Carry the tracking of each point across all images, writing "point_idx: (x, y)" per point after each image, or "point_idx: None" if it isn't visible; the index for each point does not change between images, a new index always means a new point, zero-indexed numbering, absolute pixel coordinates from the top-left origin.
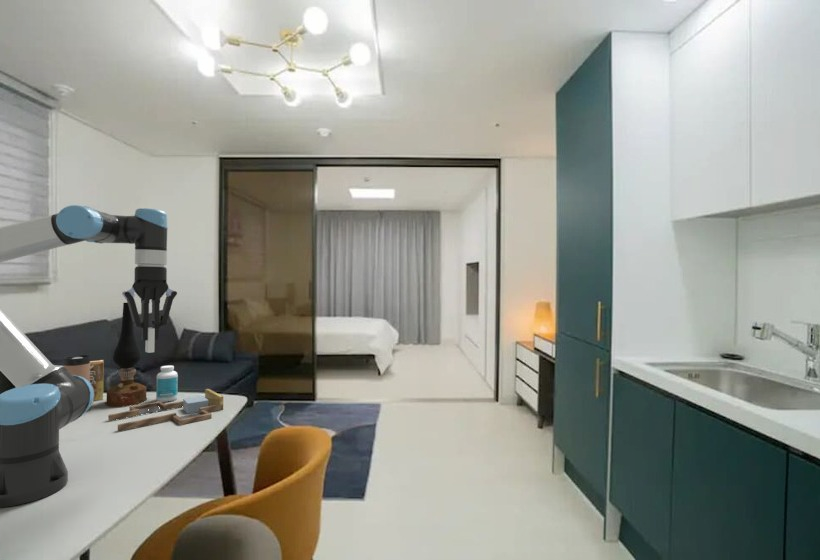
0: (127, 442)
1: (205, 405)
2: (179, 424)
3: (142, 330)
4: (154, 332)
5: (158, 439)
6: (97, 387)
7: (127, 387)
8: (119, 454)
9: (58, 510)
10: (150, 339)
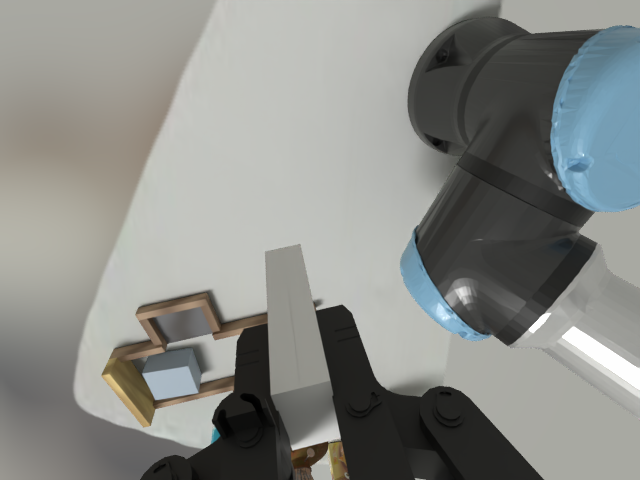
0: (303, 243)
1: (151, 363)
2: (206, 293)
3: (373, 380)
4: (271, 357)
5: (247, 232)
6: (339, 465)
7: (298, 449)
8: (319, 186)
9: None
10: (297, 305)
